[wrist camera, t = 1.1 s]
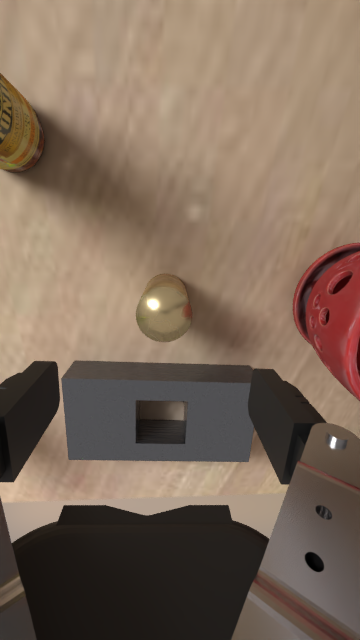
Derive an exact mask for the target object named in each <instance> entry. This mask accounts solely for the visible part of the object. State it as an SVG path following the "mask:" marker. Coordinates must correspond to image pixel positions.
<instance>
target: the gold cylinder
mask: <svg viewBox="0 0 360 640" xmlns="http://www.w3.org/2000/svg"><path fill="white" fill-rule="evenodd" d="M136 320H137V324H138V326H139V328H140V330H141V331H142V332H143V333H144V334H145V335H146V336H147V337H149V338H150V339H152V340H155V341H159V342H170V341H174V340H176V339H178V338H180V337H181V336H183V335H184V334H185V333H186V331H187V330H188V329H189V327H190V324H191V321H192V310H191V306H190V302H189V299H188V295H187V292H186V288H185V286H184V284H183V282H182V281H181V280H180V279H179V278H178V277H176V276H174V275H171V274H160V275H157V276H155V277H154V278H152V279H151V280H150V281H149V283H148V284H147V286H146V288H145V291H144V293H143V295H142V297H141V299H140V301H139V304H138V306H137V310H136Z"/></svg>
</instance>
